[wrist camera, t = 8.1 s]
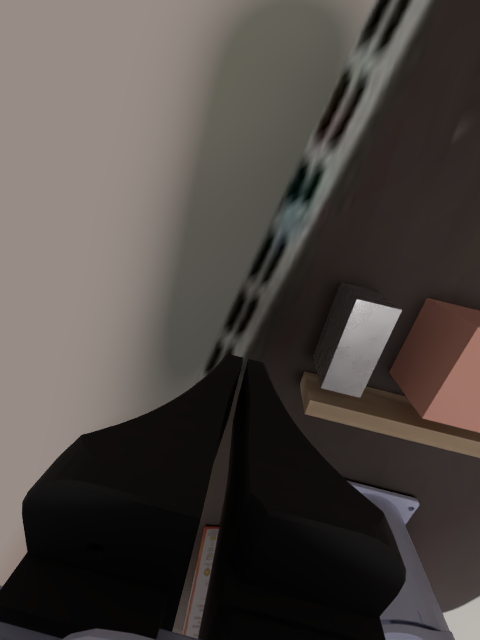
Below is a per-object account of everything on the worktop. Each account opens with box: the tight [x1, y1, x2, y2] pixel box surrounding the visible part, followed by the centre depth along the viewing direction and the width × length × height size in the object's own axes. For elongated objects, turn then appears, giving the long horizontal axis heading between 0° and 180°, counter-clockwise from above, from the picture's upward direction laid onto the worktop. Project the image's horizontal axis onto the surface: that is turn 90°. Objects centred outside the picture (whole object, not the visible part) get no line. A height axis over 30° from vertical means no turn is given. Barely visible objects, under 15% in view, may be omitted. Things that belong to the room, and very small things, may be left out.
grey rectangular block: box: [313, 282, 402, 398], centre depth 18 cm, size 6×2×4 cm, turn 168°
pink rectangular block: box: [389, 298, 480, 433], centre depth 17 cm, size 6×4×5 cm, turn 168°
